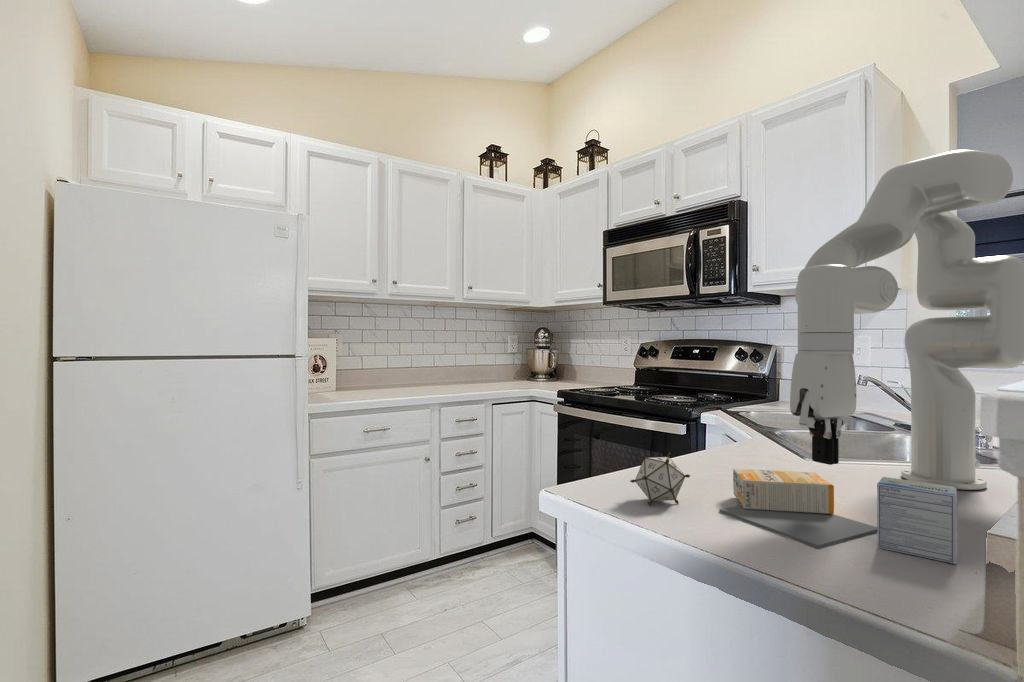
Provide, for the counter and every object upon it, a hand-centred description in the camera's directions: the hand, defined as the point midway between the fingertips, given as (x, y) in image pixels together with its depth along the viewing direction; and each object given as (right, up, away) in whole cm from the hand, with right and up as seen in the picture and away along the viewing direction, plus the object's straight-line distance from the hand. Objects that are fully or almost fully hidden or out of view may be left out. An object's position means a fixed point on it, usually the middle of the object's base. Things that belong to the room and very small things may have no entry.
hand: (825, 462), depth 80 cm
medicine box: (+3, -8, -14) cm, 17 cm away
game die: (-24, -8, +6) cm, 26 cm away
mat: (-6, -8, -3) cm, 11 cm away
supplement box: (+1, -5, +2) cm, 6 cm away
